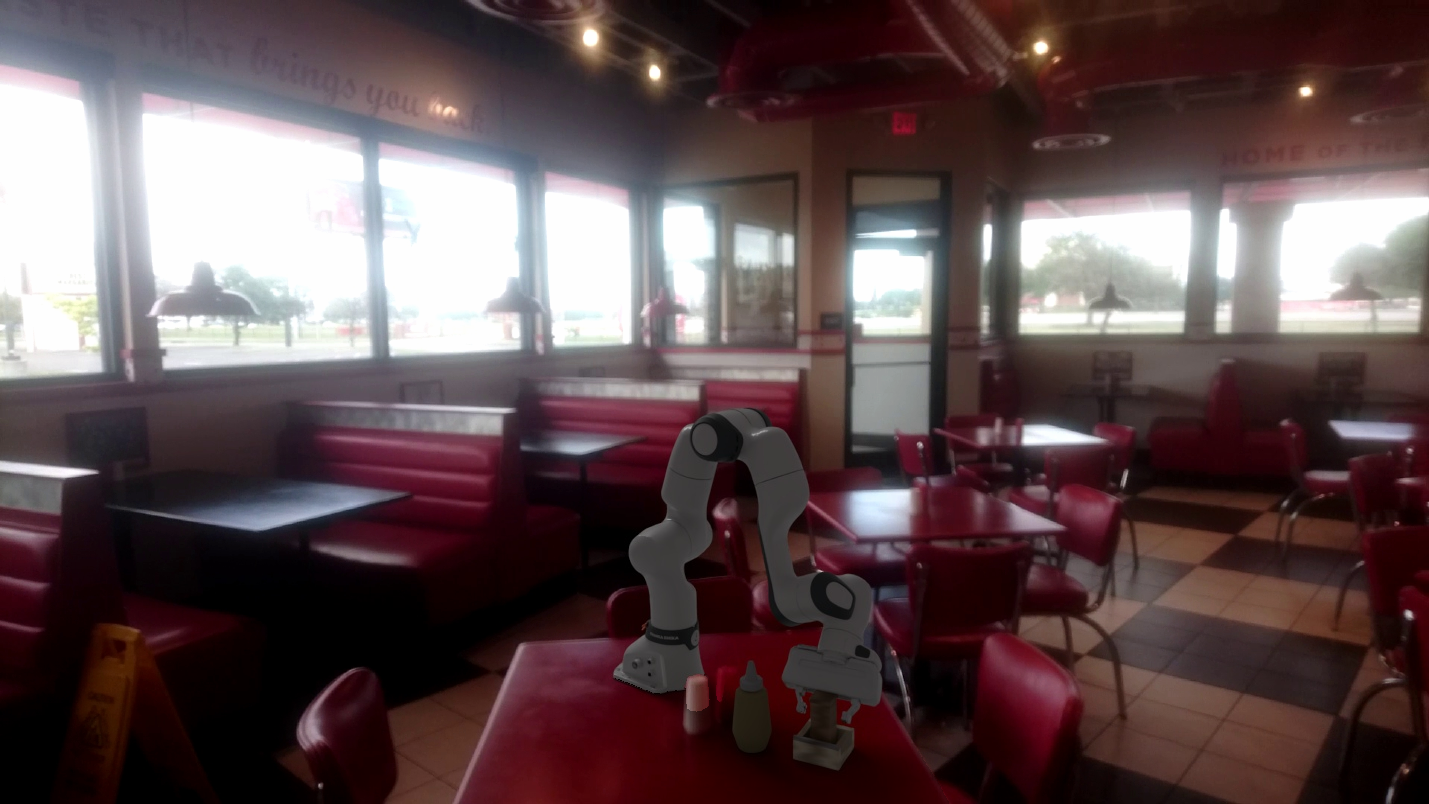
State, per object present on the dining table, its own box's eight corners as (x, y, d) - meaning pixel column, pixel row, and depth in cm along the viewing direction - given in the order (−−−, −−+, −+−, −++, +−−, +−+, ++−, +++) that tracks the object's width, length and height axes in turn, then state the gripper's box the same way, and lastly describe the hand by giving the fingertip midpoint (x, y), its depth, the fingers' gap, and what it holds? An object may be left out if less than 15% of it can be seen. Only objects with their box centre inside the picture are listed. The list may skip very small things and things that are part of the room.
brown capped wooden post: (809, 755, 162) (809, 698, 161) (817, 745, 166) (817, 689, 165) (830, 761, 160) (830, 702, 159) (837, 750, 164) (837, 693, 163)
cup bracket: (793, 758, 161) (793, 735, 161) (810, 736, 169) (810, 714, 169) (838, 770, 157) (838, 747, 156) (854, 747, 165) (854, 724, 164)
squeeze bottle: (769, 758, 161) (768, 672, 159) (729, 755, 163) (727, 669, 161) (774, 737, 169) (773, 654, 167) (736, 734, 171) (734, 652, 169)
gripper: (788, 636, 172) (769, 700, 164) (883, 653, 162) (868, 722, 155) (796, 648, 176) (778, 711, 169) (889, 666, 167) (875, 734, 159)
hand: (822, 717), depth 162 cm, fingers open, 8 cm apart
